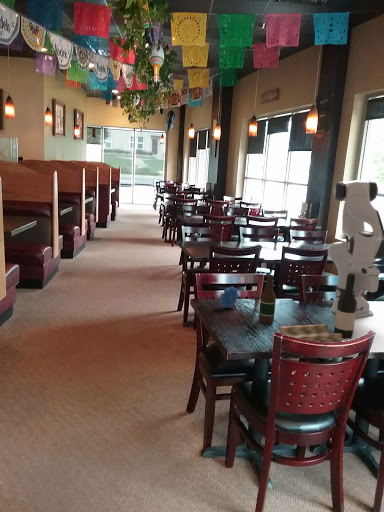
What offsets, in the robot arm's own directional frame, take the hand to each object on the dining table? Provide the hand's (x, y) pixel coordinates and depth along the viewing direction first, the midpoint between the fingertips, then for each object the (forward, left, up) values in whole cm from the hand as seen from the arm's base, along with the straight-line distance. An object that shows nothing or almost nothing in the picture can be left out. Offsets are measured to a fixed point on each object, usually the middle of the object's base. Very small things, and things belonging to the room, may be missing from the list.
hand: (357, 296), depth 195 cm
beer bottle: (+34, -22, -20) cm, 45 cm away
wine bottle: (+5, 0, -20) cm, 20 cm away
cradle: (+22, 0, -19) cm, 30 cm away
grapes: (+45, -46, -20) cm, 67 cm away
